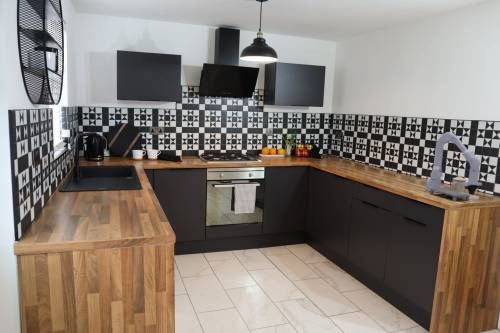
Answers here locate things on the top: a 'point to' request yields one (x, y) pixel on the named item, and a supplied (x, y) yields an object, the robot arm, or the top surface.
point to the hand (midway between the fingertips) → (471, 195)
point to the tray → (472, 197)
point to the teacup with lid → (458, 184)
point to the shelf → (450, 193)
